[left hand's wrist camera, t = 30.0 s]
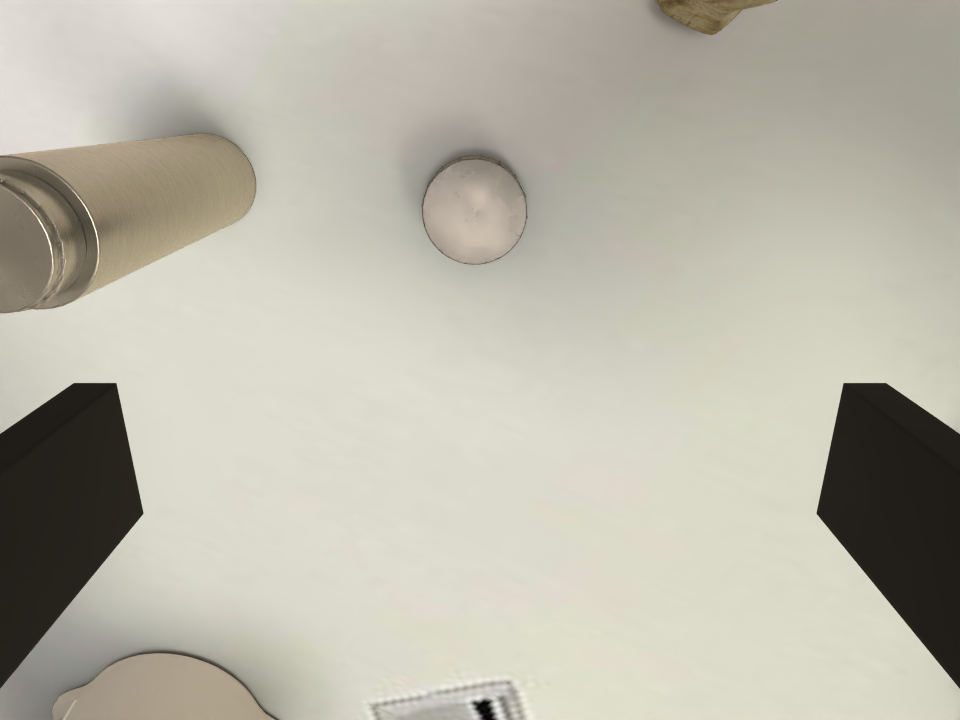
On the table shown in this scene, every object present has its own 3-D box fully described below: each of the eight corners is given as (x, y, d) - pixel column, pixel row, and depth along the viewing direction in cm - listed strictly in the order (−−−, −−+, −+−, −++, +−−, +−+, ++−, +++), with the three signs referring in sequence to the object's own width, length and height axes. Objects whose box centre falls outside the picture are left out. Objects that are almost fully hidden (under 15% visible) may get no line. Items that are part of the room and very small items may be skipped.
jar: (258, 229, 41) (78, 332, 23) (169, 223, 41) (-84, 321, 23) (254, 137, 39) (54, 167, 21) (160, 129, 39) (-124, 153, 21)
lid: (418, 160, 40) (415, 163, 38) (521, 150, 40) (523, 153, 38) (431, 261, 42) (428, 269, 40) (528, 252, 42) (530, 260, 40)
